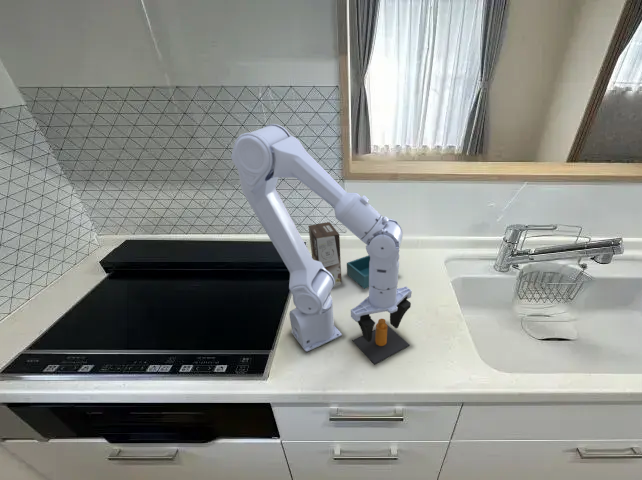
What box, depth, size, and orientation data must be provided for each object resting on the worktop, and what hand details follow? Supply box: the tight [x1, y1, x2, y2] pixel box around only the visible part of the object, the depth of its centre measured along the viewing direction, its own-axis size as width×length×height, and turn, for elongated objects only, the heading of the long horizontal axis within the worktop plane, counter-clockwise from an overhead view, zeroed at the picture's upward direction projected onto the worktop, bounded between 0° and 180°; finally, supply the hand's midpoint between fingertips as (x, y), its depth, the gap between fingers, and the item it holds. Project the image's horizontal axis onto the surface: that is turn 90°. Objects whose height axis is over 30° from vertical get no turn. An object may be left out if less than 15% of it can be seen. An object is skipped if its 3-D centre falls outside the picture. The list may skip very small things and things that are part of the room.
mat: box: [351, 324, 411, 366], centre depth 74 cm, size 10×9×1 cm
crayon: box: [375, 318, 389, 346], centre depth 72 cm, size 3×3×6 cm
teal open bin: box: [346, 254, 370, 290], centre depth 95 cm, size 12×9×5 cm
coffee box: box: [307, 221, 343, 287], centre depth 90 cm, size 9×6×16 cm
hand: (380, 332), depth 72 cm, fingers open, 7 cm apart
